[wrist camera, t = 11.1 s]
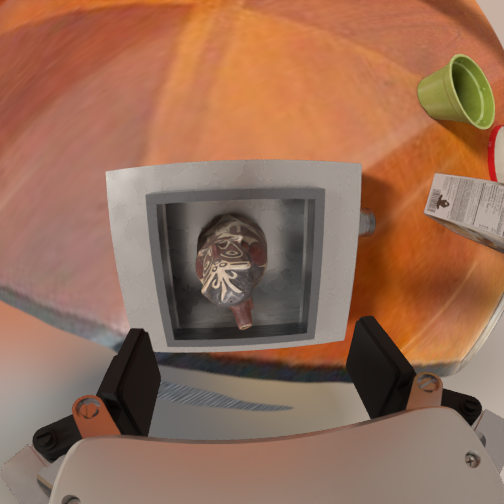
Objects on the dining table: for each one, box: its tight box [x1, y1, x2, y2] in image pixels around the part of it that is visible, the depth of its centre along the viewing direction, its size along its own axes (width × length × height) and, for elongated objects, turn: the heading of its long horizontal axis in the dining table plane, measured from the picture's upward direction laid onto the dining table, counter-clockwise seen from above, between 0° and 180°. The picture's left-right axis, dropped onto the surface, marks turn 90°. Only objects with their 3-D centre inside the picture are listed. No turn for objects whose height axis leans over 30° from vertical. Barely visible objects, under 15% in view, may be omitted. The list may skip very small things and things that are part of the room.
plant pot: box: [417, 54, 495, 130], centre depth 22 cm, size 9×9×9 cm
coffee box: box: [424, 173, 504, 254], centre depth 23 cm, size 9×6×16 cm
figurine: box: [195, 212, 268, 330], centre depth 23 cm, size 7×7×12 cm
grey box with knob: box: [106, 160, 376, 352], centre depth 26 cm, size 25×18×9 cm
